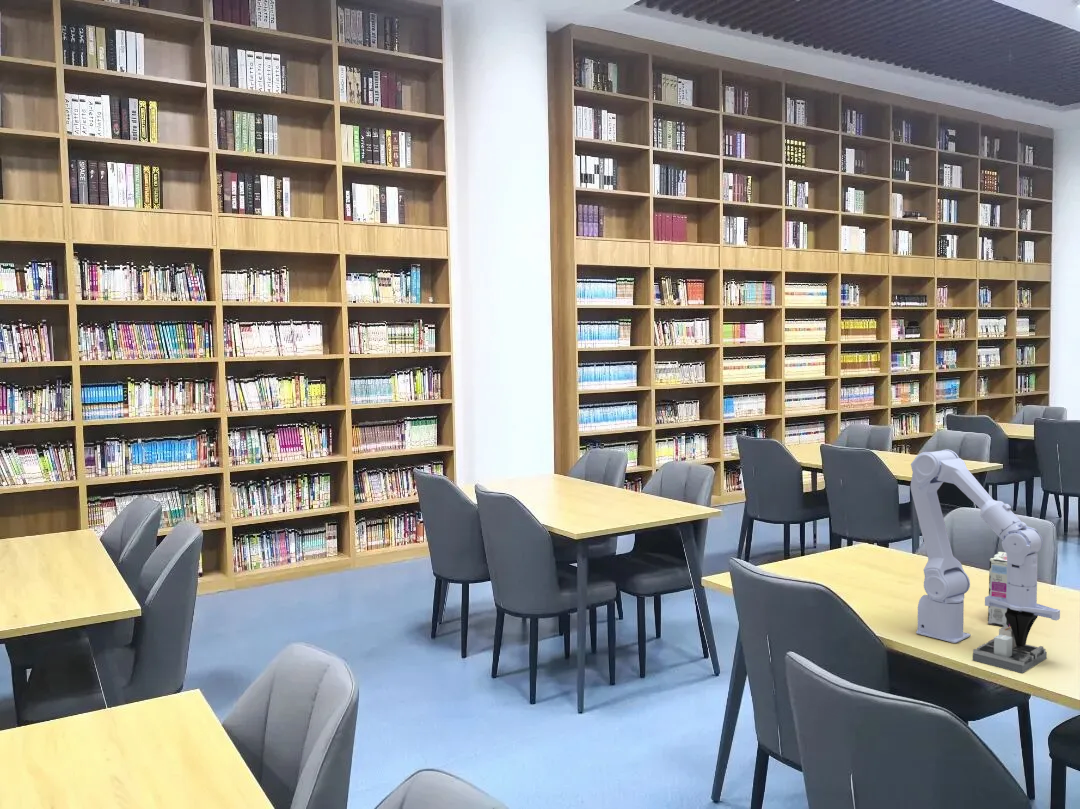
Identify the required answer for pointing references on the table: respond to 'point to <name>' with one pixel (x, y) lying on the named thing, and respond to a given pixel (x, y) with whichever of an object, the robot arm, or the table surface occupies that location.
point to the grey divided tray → (1017, 662)
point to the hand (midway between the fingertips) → (1020, 644)
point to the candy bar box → (998, 588)
